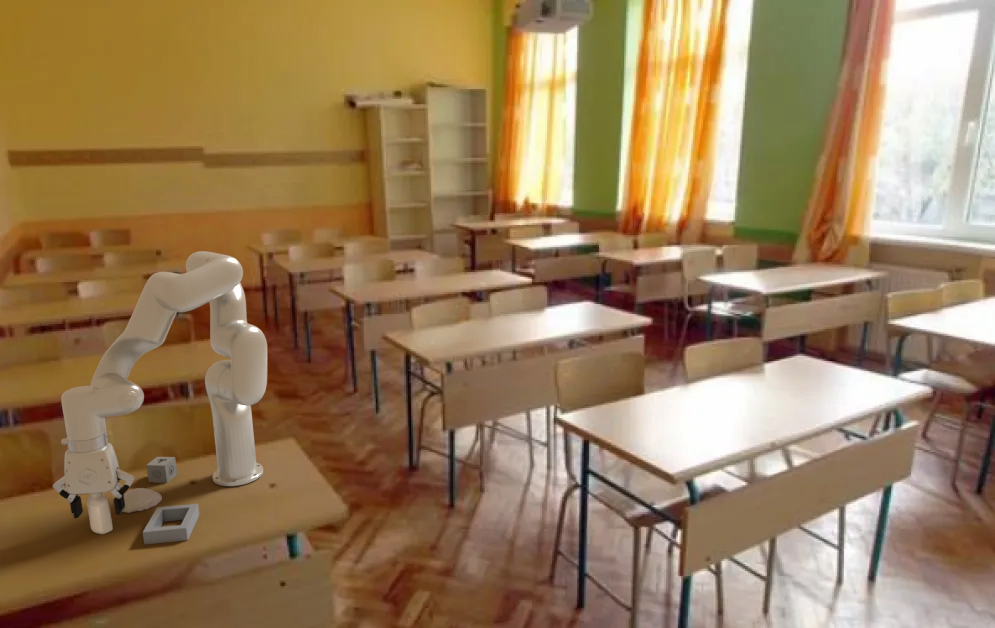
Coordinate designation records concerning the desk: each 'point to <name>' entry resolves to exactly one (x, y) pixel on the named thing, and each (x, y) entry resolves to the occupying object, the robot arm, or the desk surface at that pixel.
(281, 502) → the desk surface
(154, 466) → the dice cube
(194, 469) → the desk surface
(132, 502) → the seashell
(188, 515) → the bottle holder
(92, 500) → the eye dropper bottle
